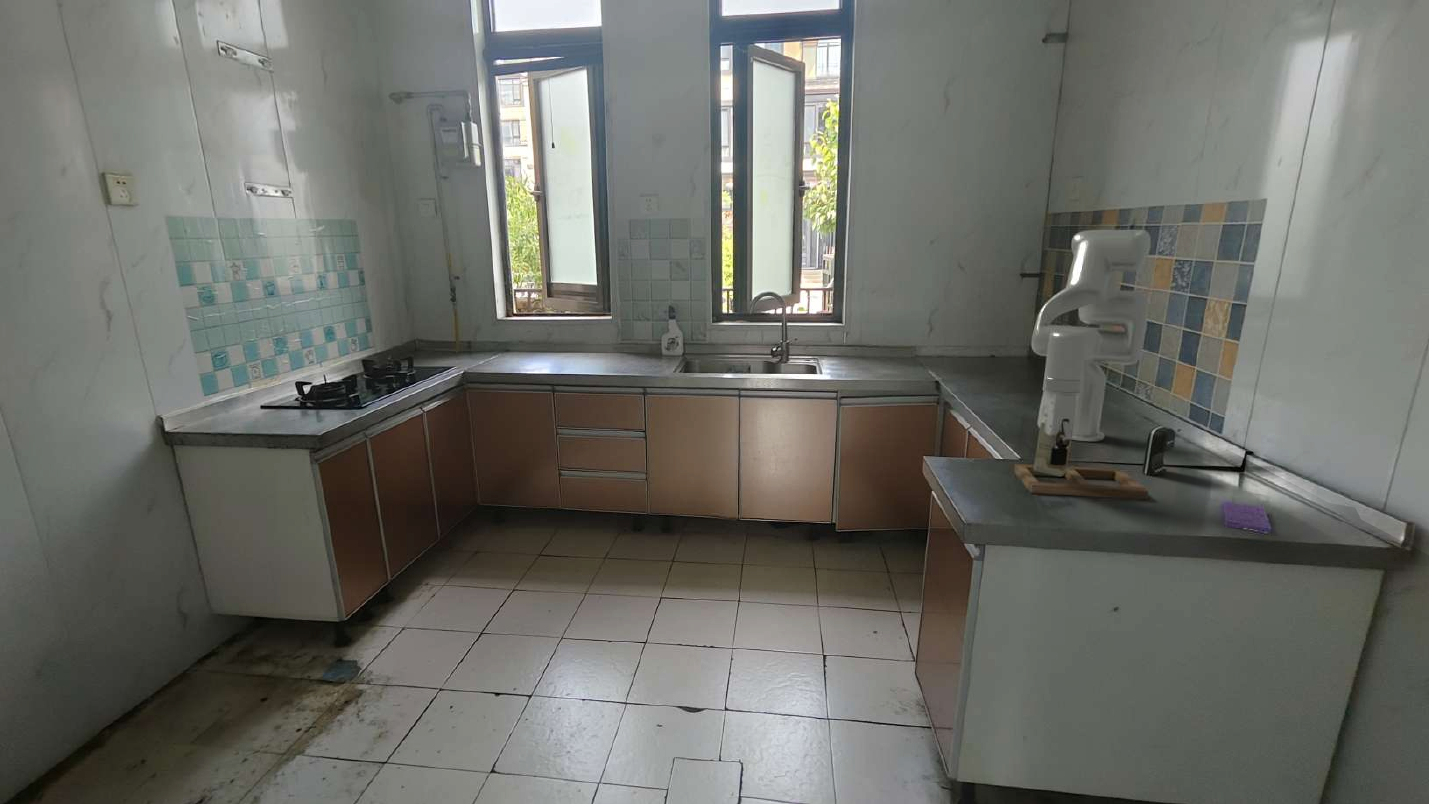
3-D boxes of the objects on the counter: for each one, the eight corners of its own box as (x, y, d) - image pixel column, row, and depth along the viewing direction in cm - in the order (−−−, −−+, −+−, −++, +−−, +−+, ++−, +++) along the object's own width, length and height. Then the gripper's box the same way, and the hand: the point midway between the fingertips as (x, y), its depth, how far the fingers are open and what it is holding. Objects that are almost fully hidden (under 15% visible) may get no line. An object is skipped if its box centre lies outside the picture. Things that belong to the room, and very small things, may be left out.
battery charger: (1158, 478, 152) (1166, 433, 149) (1141, 473, 155) (1148, 429, 152) (1171, 472, 155) (1179, 428, 153) (1153, 468, 158) (1161, 424, 156)
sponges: (1224, 528, 127) (1226, 519, 126) (1220, 507, 137) (1222, 499, 136) (1270, 537, 123) (1272, 528, 122) (1262, 514, 133) (1264, 506, 132)
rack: (1013, 471, 157) (1014, 463, 156) (1118, 476, 153) (1120, 468, 152) (1030, 492, 144) (1031, 484, 143) (1146, 499, 140) (1148, 490, 139)
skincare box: (1032, 471, 149) (1039, 421, 146) (1038, 466, 152) (1044, 417, 149) (1062, 477, 145) (1069, 426, 142) (1068, 472, 148) (1074, 422, 145)
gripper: (1032, 376, 152) (1023, 447, 157) (1057, 393, 136) (1047, 471, 140) (1065, 377, 151) (1056, 448, 155) (1095, 394, 134) (1083, 473, 139)
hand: (1052, 458), depth 148 cm, fingers closed on skincare box, 6 cm apart
